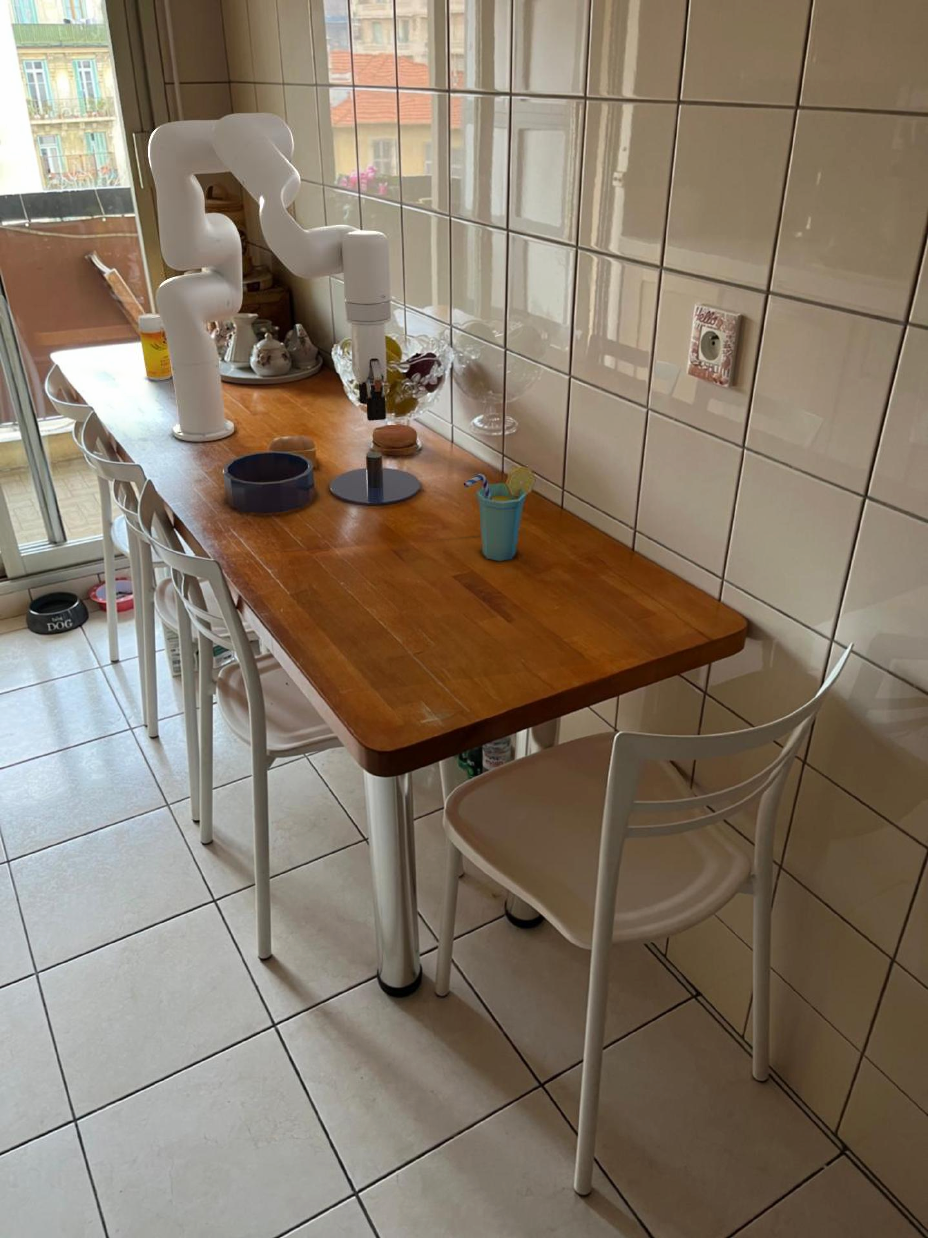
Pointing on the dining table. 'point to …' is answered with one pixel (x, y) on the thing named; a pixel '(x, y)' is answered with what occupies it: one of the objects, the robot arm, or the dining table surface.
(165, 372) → the yellow tall cylinder
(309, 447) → the bread
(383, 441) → the burger
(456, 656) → the dining table surface
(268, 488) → the pot
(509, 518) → the cup
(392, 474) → the lid
